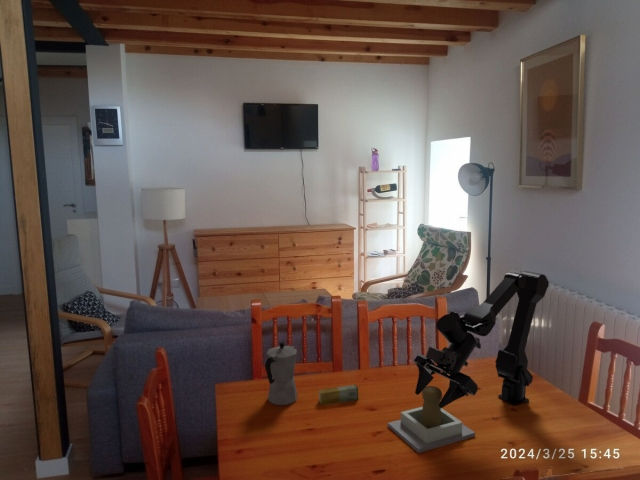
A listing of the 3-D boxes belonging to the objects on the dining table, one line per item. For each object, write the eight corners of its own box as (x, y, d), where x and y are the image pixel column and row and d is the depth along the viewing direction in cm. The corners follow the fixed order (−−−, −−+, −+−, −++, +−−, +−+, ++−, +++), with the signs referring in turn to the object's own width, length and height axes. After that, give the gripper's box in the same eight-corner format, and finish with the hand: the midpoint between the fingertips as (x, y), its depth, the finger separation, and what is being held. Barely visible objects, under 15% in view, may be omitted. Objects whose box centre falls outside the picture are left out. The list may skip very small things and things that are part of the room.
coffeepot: (280, 386, 158) (279, 333, 156) (306, 392, 154) (305, 337, 151) (253, 407, 145) (252, 349, 142) (281, 414, 140) (280, 354, 138)
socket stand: (440, 412, 141) (441, 399, 141) (475, 436, 129) (475, 421, 128) (387, 426, 134) (387, 412, 133) (418, 453, 121) (418, 438, 121)
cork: (437, 435, 127) (438, 395, 125) (415, 428, 130) (416, 389, 129) (446, 425, 132) (447, 386, 130) (424, 419, 135) (426, 381, 134)
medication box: (355, 396, 152) (355, 384, 151) (359, 400, 149) (358, 387, 149) (318, 401, 148) (318, 389, 148) (321, 405, 146) (320, 392, 145)
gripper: (419, 326, 137) (388, 372, 133) (471, 346, 122) (438, 399, 117) (439, 347, 143) (409, 392, 138) (491, 369, 127) (460, 421, 123)
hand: (427, 400), depth 129 cm, fingers open, 8 cm apart
